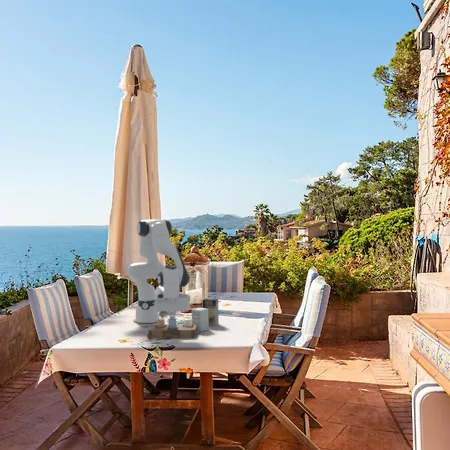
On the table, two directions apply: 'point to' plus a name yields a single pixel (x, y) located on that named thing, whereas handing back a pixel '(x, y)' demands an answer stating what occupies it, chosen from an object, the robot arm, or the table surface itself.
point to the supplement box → (200, 318)
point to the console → (173, 332)
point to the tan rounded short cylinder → (160, 323)
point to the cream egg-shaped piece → (187, 322)
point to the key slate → (172, 324)
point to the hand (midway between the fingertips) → (172, 318)
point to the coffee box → (211, 311)
